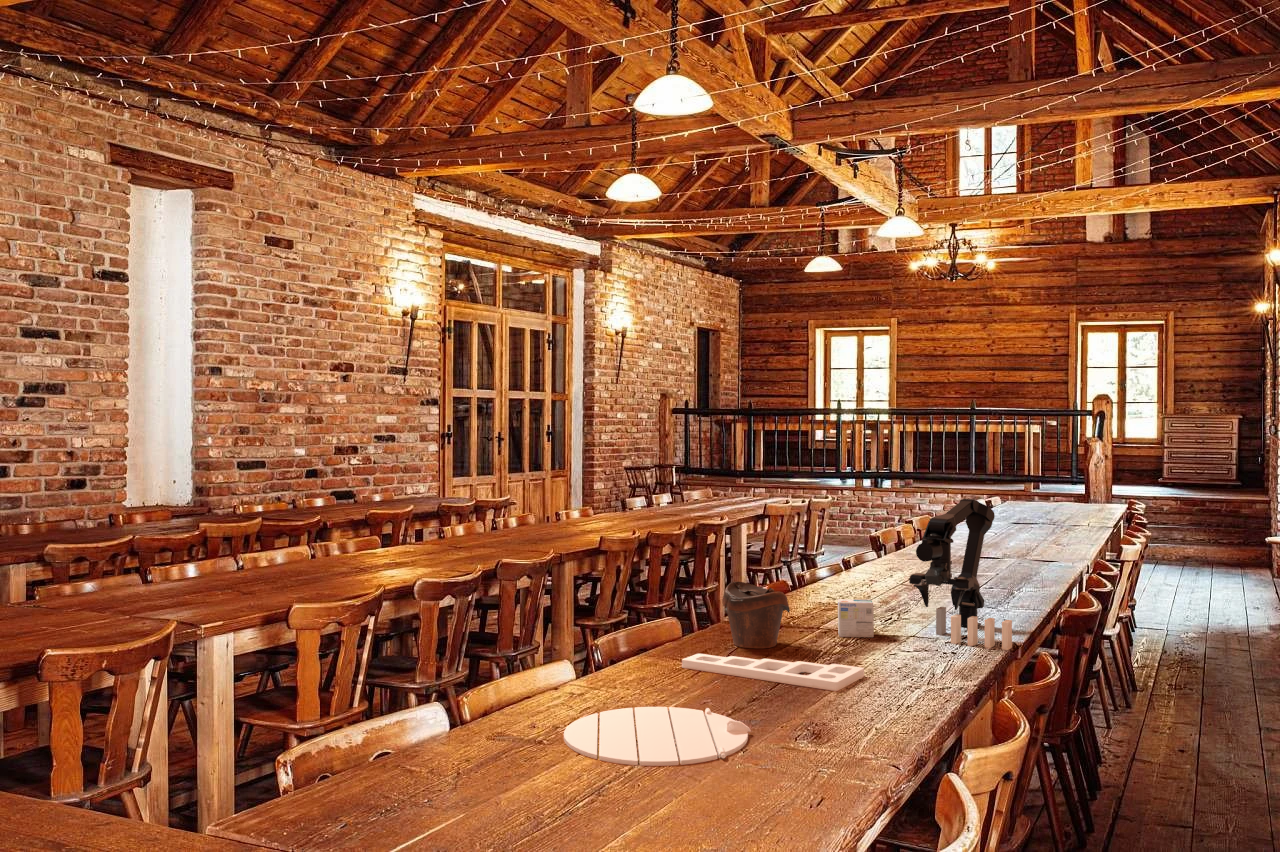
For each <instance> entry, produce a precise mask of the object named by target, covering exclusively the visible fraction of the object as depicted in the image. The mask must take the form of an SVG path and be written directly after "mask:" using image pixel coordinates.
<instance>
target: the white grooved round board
mask: <svg viewBox="0 0 1280 852" xmlns="http://www.w3.org/2000/svg"><path fill="white" fill-rule="evenodd" d="M598 727H599V729H598ZM598 731H599V733H598ZM749 732H752V730H751V728H750V727H749V726H747V724H745V723H743V721H739V720H735V719H733V718H731V717H728V716H726V715H723V714H718V713H715V712H712V711H711V709H710V708H709V707H706V708H705V710H704V711H703V710H701V709H694V708H688V707H678V706H677V707H674V706H669V707H667V706H637V707H636V706H635V707H625V708H618V709H617V708H616V709H609V710H604V711H600V712H596V713H591V714H589V715H588V714H587V715H585V716H583V717H580V718H578V719H575V720H574V721H572V722H571V723H569V725H567V726H566V728H564V731H563V741H564V744H565V745H567V747H568V748H569V749H571V750H572V751H574V752H575V753H577V754H580V755H583V756H585V757H589V758H591V759H595V760H599V761H602V762H608V763H614V764H621V765H630V766H638V765H639V766H642V767H643V766H646V767H647V766H648V767H653V766H654V767H657V766H659V767H661V766H662V767H663V766H664V767H670V766H679V763H680V765H682V766H683V765H692V764H693V765H694V764H699V763H705V762H706V763H707V762H709V761H714V760H718V758H719V759H726V757H727V756H730V755H733V754H734V753H736V752H738V751H740V750H741V749H742V748H744V747H745V746H746V745H747V744H748V743H747V742H748V740H749ZM598 734H599V737H598ZM598 738H599V739H598ZM636 740H637V741H636ZM598 741H599V743H598ZM598 744H599V745H598ZM598 746H599V747H598ZM598 748H599V749H598ZM598 751H599V752H598Z"/></svg>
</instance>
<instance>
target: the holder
mask: <svg viewBox="0 0 1280 852" xmlns="http://www.w3.org/2000/svg"><path fill="white" fill-rule="evenodd" d="M681 668H683V669H688V670H694V671H695V670H696V671H702V672H709V673H716V674H722V675H728V676H735V677H741V678H748V679H755V680H761V681H768V682H775V683H782V684H787V685H788V684H789V685H793V686H799V687H806V688H814V689H820V690H827V691H832V692H838V691H840V690H841V689H844V688H846V687H847V686H849V685H851V684H853V683H855V682H856V681H859V680H861V679H862V678H863V677H865V667H861V666H852V665H845V664H839V663H831V664H825V663H824V664H823V663H817V662H816V663H815V662H810V661H809V662H808V661H802V660H801V661H799V660H797V661H793V662H792V661H786V660H777V659H773V658H772V659H771V658H761V659H755V658H749V657H742V656H735V655H734V656H733V655H730V656H719V655H714V654H712V655H711V654H707V653H706V654H705V653H700V652H699V653H695V654H693V655H690V656H687V657H684V658H683V659H681ZM801 673H808V674H806V675H805V674H801Z"/></svg>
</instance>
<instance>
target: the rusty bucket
mask: <svg viewBox="0 0 1280 852" xmlns="http://www.w3.org/2000/svg"><path fill="white" fill-rule="evenodd" d="M721 602H722V606H723V607H726V611H727V612H726V613H727V617H728V618H727V619H728V622H729V626H730V632H731V637H732V641H733V642H732V643H733V645H734V646H736V647H740V648H741V649H742V648H743V649H757V650H758V649H760V650H761V649H770V648H771V649H772V648H774V647H775V646H776V645H777V644H778V637H779V633H780V628H781V622H782V617H783V615H784V611H786V612H787V613H789V614H790V612H791V610H790V605H789V601H788V597H787V595H786V594H785V593H784V592H783V591H775V589H773V588H772V587H769V588H768V589H767V588H765V587H761V586H758V585H754V584H751V583H747V582H744V581H733V582H730V583H729V584H728V585H727V586H726V588H725V589H724V593H723V597H722V599H721Z"/></svg>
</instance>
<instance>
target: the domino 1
mask: <svg viewBox="0 0 1280 852" xmlns="http://www.w3.org/2000/svg"><path fill="white" fill-rule="evenodd" d="M935 611H936V612H935V635H936V636H943V635H945V634H946V633H947V607H946V606H939V607H937V608H936V610H935Z"/></svg>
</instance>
